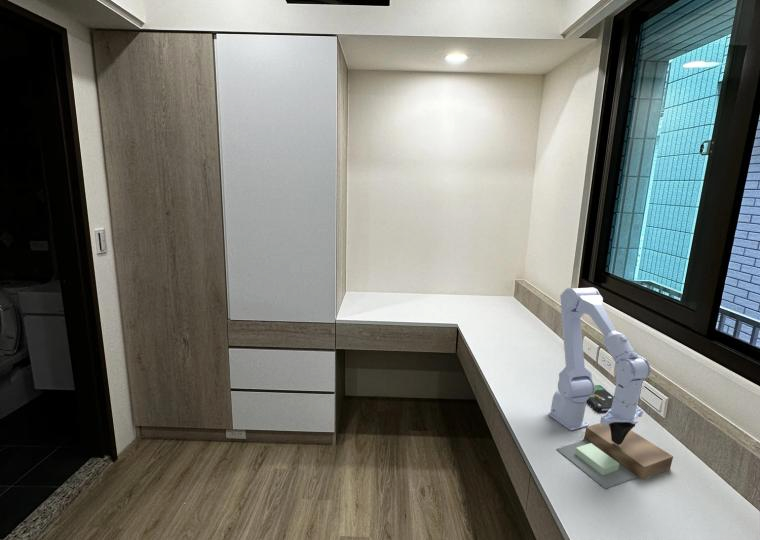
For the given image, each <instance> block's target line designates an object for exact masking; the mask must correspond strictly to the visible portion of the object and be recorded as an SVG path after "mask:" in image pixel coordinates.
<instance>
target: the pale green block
mask: <svg viewBox="0 0 760 540" xmlns="http://www.w3.org/2000/svg"><path fill="white" fill-rule="evenodd" d="M575 454H576V455H577V456H578V457H580V458H581V459H582V460H584V461H585V462H586V463H587V464H589V465H590V466H591V467H593V468H594V469H595V470H596V471H598V472H599V473H600V474H602V475H605V474H608V473H611V472H614V471H617V470H618V469H619V463H618V462H617V461H615V460H614V459H612V458H611V457H610V456H608V455H607V454H606V453H604V452H603V451H601V450H600V449H599V448H597V447H596V446H594V445H593V444H592V443H590V444H586V445H583V446H580V447H576V450H575Z"/></svg>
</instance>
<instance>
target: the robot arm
mask: <svg viewBox="0 0 760 540" xmlns="http://www.w3.org/2000/svg"><path fill="white" fill-rule="evenodd" d="M559 296H560V307H561V313H560V314H561V315H560V316H561V326H562V338H563V339H562V340H563V350H564V360H565V362H564V363H565V367H564V368H563V369H562V370H561V371H560V372H559V373H558V382H557V390H556V391H554V394H553V397H552V401H551V405H550V406H551V407H550V412H548V416H550V417H551V418H552V419H554V420H555V421H557V422H558V423H559V424H561V425H562V426H563V427H566V429H567V430H569V431H575V430H580V429H582V428H586V427H588V426H590V425H589V423H588V422H586V421H584V416H585V411H586V406H587V399H589V396H591V395H593V394H594V392H595V385H596V384H595V382H594V380H593V377H592V376H593V375H592V372H591V371H590V370H589V369H587V368H586V367H585V366H586V365H585V357H584V356H585V355H584V346H583V336H582V335H583V334H582V333H583V332H582V323H581V317H583V315H584V314H585V315H588V316H589V317H590V318H591V320H592V321H593V323H594V325H596V326H597V328H598V329H599V331H600V332H601V333H602V335H603V336H604V337H603V344H604V346H605V347H606V349H607V351H608V353H609V354H610V356H611V357H612V359H613V361H614V363H615V364H614V366H613V368H614V373H615V381H616V385H615V389H614V393H613V394H614V395H613V397H614V398H613V402H612V407H611V409H610V410H609V411H608V412H607V413H604V415H601V416H600V419H599V420H600V421H599V423H602V424H603V425H605V426H610V430H611V439H612V441H613V442H614V443H616V444H617V445H619V444H621V443H622V442H623V440H624V438H625V437H626V435H627V434H628V432H629V431H630V430H632V429H634V428H635V427H636V424H638V423H639V420H638V419H637V418H640V417H643V414H644V410H643V409H641V408H640V407H638V403H639V399H640V395H641V391H642V387H643V382H644V379H646V378H648V377H649V376H650V374H651V366H650V364H649V361H648V360H647V359H646V358H645V357H643V356H641V355H640V354H639V353H636V351H635V349H634V348H633V346H632V345H631V344H630V341H629V339H628V337H627V336H626V335H625V334H624V333H623V332H619V331H618V330H616V328H615V326H614V324H613V322H612V320H611V318H610V316H609V314H608V313H607V310H606V309H605V307H604V305H603V301H604V297H603V296H602V295H601V293H600V292H599V290H598V289H597V288H595V287H592V286H591V287H579V288H577V287H575V288H572V287H568V288H566V289H564V290H563V292H562V293H561V294H560V295H559Z"/></svg>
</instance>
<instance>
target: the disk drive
mask: <svg viewBox="0 0 760 540" xmlns="http://www.w3.org/2000/svg"><path fill="white" fill-rule="evenodd" d="M613 398H614V395H613V394H611V393H610V392H609V391H607V389H606V388H604V387H603V386H602V385H601V384H600V385H599V384H597V385H596V384H595V392H594V394H593V395H591V396H589V399H587V402H586V404H587V405H588V406H590V408H591V409H593V411H595V413H597V414H606V413H607V412H608V411H609V410H610V409H611V407H612V402H613Z"/></svg>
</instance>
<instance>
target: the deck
mask: <svg viewBox="0 0 760 540" xmlns="http://www.w3.org/2000/svg"><path fill="white" fill-rule="evenodd" d="M583 439H584V440H587V441H588V442H590V443H592V444H593V445H594V446H596V447H597V448H599V449H600V450H601V451H603V452H604V453H606V454H607V455H608V456H610V457H611V458H612V459H614V460H615V461H617V462H618V463H619V464H620V465H622V466H623V467H625V468H626V469H627V470H629V471H630V472H631V473H633V474H634V475H636V476H637V478H638V479H639V480H644V479H647V478H650V477H653V476H655V475H657V474H661V473H663V472H666V471H668V470H671V467H672V462H673V459H674V456H673V455H672V454H670V453H668V452H667V451H666V450H663V449H662V448H660V447H659V446H657V445H656V444H654V443H652V442H651V441H649V440H648V439H646V438H644V437H643V436H642V435H640V434H638V433H636V432H635V431H633V430H632V429H631V430H630V431H629V432H628V434H627V435H626V437H625V438H624V440H623V442H622V443H621V444H619V445H617V444H616V443H614V442H613V441H612V439H611V430H610V426H605V425H603V424H602V423H600V422H599V423H596V424H591V425H589V426H586V427H585V432H584V436H583Z"/></svg>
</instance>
